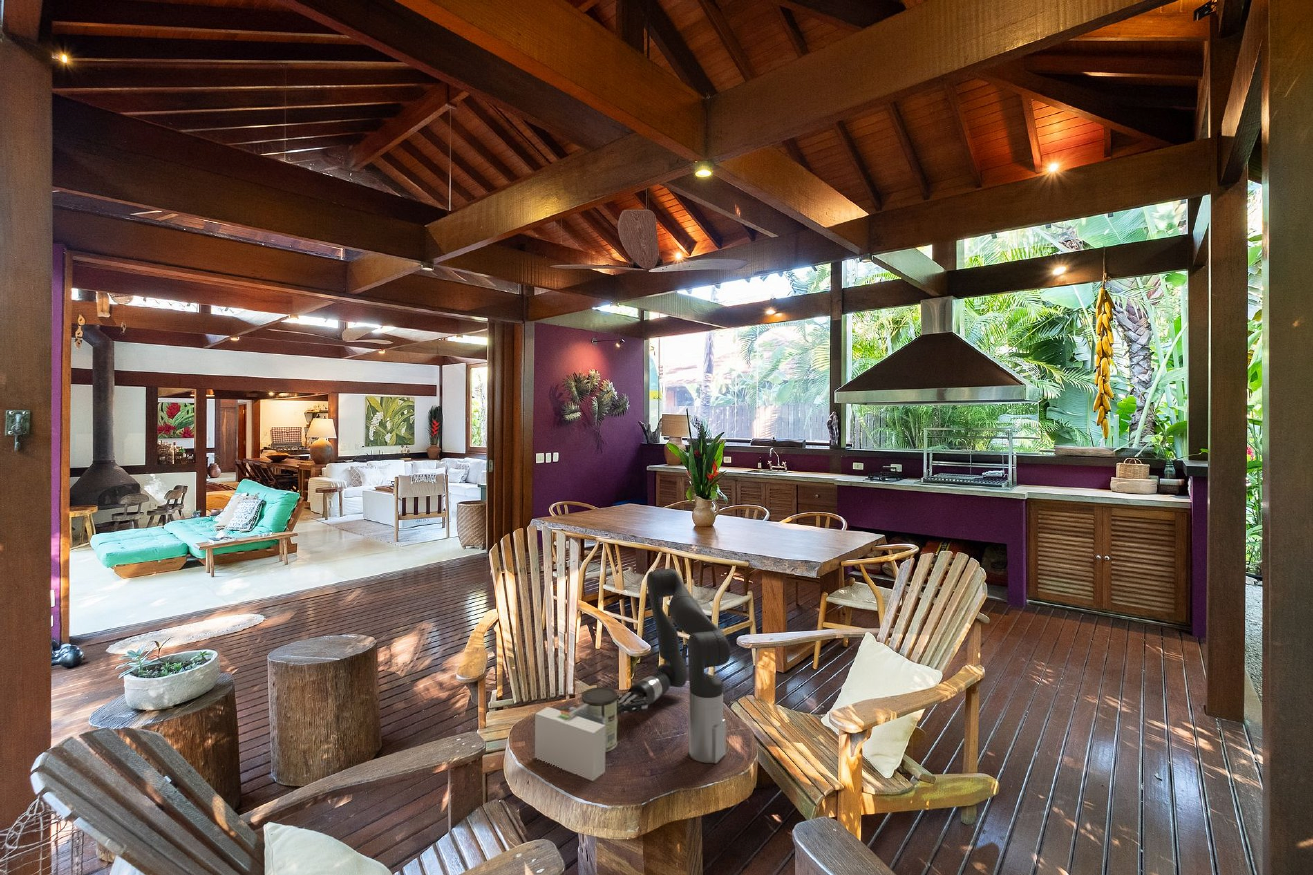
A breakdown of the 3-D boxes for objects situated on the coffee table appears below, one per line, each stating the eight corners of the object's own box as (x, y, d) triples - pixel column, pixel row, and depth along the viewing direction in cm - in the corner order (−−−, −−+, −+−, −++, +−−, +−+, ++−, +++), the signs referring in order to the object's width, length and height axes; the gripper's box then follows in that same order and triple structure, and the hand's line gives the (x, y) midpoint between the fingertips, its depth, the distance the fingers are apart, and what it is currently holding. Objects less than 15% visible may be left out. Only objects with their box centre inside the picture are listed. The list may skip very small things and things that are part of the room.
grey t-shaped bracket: (605, 750, 159) (606, 708, 160) (587, 763, 153) (587, 719, 153) (571, 738, 166) (572, 697, 166) (552, 750, 159) (552, 708, 159)
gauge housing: (605, 771, 153) (605, 724, 153) (593, 781, 148) (593, 732, 148) (547, 750, 163) (548, 706, 163) (534, 758, 159) (535, 713, 159)
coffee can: (589, 733, 173) (589, 685, 173) (622, 738, 170) (622, 689, 171) (575, 750, 163) (575, 699, 163) (610, 755, 160) (610, 703, 161)
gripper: (628, 675, 191) (595, 694, 176) (663, 684, 184) (631, 705, 169) (628, 699, 190) (595, 719, 176) (663, 708, 183) (631, 731, 169)
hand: (613, 712), depth 172 cm, fingers closed
